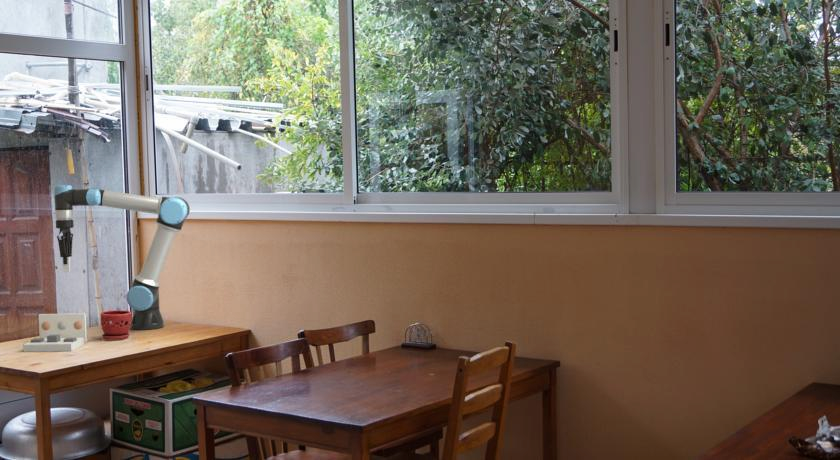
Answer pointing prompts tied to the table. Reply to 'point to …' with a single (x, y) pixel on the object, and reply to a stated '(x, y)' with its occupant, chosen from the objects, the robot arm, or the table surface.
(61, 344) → the console
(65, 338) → the outer button
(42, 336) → the pattern sign
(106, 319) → the plant pot
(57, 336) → the middle button
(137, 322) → the robot arm
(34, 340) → the outer button
